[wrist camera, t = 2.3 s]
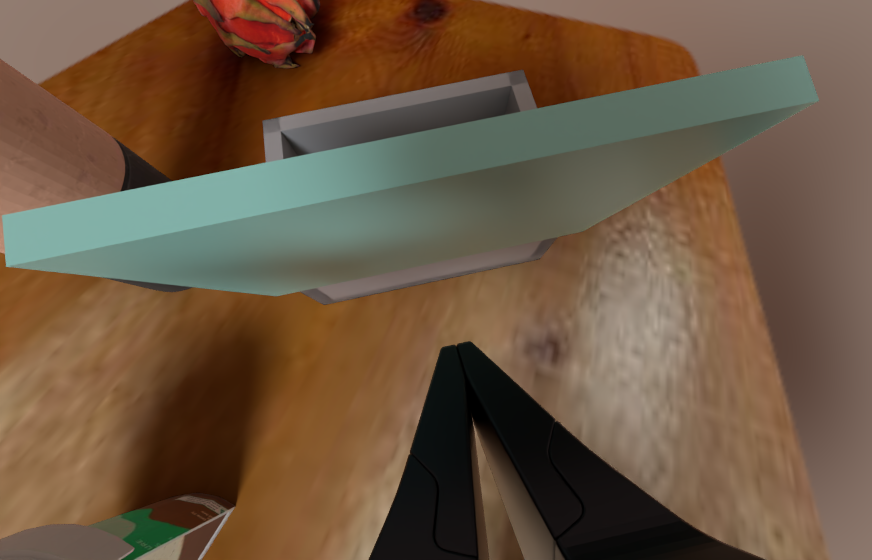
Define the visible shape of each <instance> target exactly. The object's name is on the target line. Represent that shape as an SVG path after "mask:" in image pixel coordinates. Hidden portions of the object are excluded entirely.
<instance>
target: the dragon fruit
mask: <svg viewBox="0 0 872 560" xmlns="http://www.w3.org/2000/svg"><path fill="white" fill-rule="evenodd" d="M193 1H194V3H195V4H196V6H197V7H198V10H199V11H200V13H201V15H202V16H206V17H208V19H209V21H210V23H211V24H212V26H213V27H214V28H215V30H216V31H217V33H218V34H219V36H220V39H221V40H222V41H223V42H224V44H225V45H226V46H227V47H228V48H229V49H230V50H231V51H232V52H234V53H235V54H236V55H238V56H239V57H243V56H244V55H245V54H248V55H250V56H253V57H256V58H259V59H260V60H261V61H263V62H264V63H268V64H273V65H274V67H276V68H295V67H298V66H299V65H297V64H295V63H293V62H292V60H291V57H290V55H289V54H290V53H291V52H293V51H294V52H296V53H303V52H306V53H312V52H313V48H314V44H315V40H316V36H315V34H314V33H313V32H312V31H311V29H312V26H313V25H314V24H312V23H311V21H310V19H312V18H314V15H315V14H316V13H317V12H318V11H319V8H320V1H319V0H193Z"/></svg>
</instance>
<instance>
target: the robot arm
mask: <svg viewBox="0 0 872 560" xmlns="http://www.w3.org/2000/svg"><path fill="white" fill-rule="evenodd" d="M472 418H473V420H472ZM473 422H474V425H475V428H476V431H477V434H478V437H479V439H480V442H481V445H482V447H483V450H484V453H485V455H486V458H487V461H488V463H489V466H490V469H491V471H492V474H493V477H494V479H495V482H496V485H497V487H498V490H499V493H500V495H501V498H502V501H503V503H504V506H505V509H506V511H507V514H508V517H509V520H510V522H511V525H512V528H513V530H514V533H515V536H516V538H517V541H518V544H519V546H520V549H521V552H522V554H523V557H524V560H765V559H763V558H760V557H758V556H755V555H753V554H751V553H748V552H746V551H743V550H741V549H738V548H736V547H733V546H731V545H728V544H726V543H723V542H721V541H719V540H717V539H715V538H713V537H711V536H709V535H707V534H705V533H703V532H702V531H700V530H698V529H696V528H695V527H693V526H692V525H690V524H689V523H687V522H685V521H684V520H682V519H681V518H680V517H678V516H677V515H675V514H674V513H673V512H671V511H670V510H669V509H667V508H666V507H665V506H663V505H662V504H661V503H659V502H658V501H657V500H655V499H654V498H653V497H651V496H650V495H649V494H647V493H646V492H645V491H643V490H642V489H641V488H639V487H638V486H637V485H635V484H634V483H633V482H631V481H630V480H629V479H627V478H626V477H625V476H623V475H622V474H621V473H619V472H618V471H617V470H615V469H614V468H613V467H611V466H610V465H609V464H608V463H606V462H605V461H604V460H602V459H601V458H600V457H599V456H597V455H596V454H595V453H593V452H592V451H591V450H590V449H588V448H587V447H586V446H585V445H584V444H583V443H582V442H580V441H579V440H578V439H577V438H576V437H575V436H573V435H572V434H571V433H570V432H569V431H568V430H567V429H566V428H565V427H564V426H562V425H561V424H560V423H559V422H558V421H556V420H555V418H554V417H553V416H551V415H550V414H549V413H548V412H547V411H546V410H545V409H544V408H543V407H542V406H541V405H539V404H538V403H537V402H536V401H535V400H534V399H533V398H532V397H531V396H530V395H529V394H528V393H526V392H525V391H524V390H523V389H522V388H521V387H520V386H519V385H518V384H517V383H516V382H514V381H513V380H512V379H511V378H510V377H509V376H508V375H507V374H506V373H505V372H504V371H503V370H501V369H500V368H499V367H498V366H497V365H496V364H495V363H494V362H493V361H492V360H491V359H490V358H488V357H487V356H486V355H485V354H484V353H483V352H482V351H481V350H480V349H479V348H478V347H476V346H475V345H474V344H473V343H472V342H470V341H468V342H463V343H459V344H457V347H456V345H450V346H445V347H442V348H441V350H440V353H439V357H438V360H437V363H436V367H435V370H434V373H433V377H432V380H431V383H430V387H429V390H428V393H427V396H426V400H425V403H424V406H423V410H422V413H421V416H420V420H419V423H418V426H417V430H416V433H415V436H414V440H413V443H412V446H411V450H410V454H409V456H408V459H407V462H406V466H405V469H404V472H403V475H402V478H401V481H400V484H399V487H398V490H397V493H396V495H395V498H394V500H393V503H392V505H391V508H390V510H389V513H388V515H387V518H386V520H385V523H384V525H383V527H382V530H381V532H380V534H379V537H378V539H377V541H376V544H375V546H374V548H373V550H372V553H371V555H370V557H369V560H489V553H488V544H487V536H486V527H485V518H484V510H483V501H482V493H481V484H480V475H479V467H478V458H477V450H476V441H475V433H474V426H473Z"/></svg>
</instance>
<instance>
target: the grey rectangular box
mask: <svg viewBox="0 0 872 560" xmlns="http://www.w3.org/2000/svg"><path fill="white" fill-rule="evenodd" d="M532 109H537V107H536V104H535V101H534V98H533V96H532V93H531V90H530V87H529V85H528V82H527V79H526V76H525V74H524V71H523V70H519V71H513V72H508V73H503V74H498V75H493V76H488V77H483V78H478V79H473V80H468V81H462V82H457V83H452V84H447V85H442V86H437V87H432V88H427V89H422V90H417V91H412V92H406V93H401V94H396V95H391V96H386V97H381V98H376V99H371V100H366V101H361V102H356V103H350V104H345V105H340V106H335V107H330V108H325V109H320V110H315V111H310V112H305V113H299V114H294V115H289V116H284V117H279V118H274V119H269V120H264V121H263V131H264V144H265V156H266V163H267V162H272V161H277V160H282V159H287V158H292V157H297V156H302V155H307V154H312V153H317V152H322V151H327V150H332V149H337V148H342V147H347V146H352V145H357V144H362V143H367V142H372V141H377V140H382V139H387V138H392V137H397V136H402V135H407V134H412V133H417V132H422V131H427V130H432V129H437V128H442V127H447V126H452V125H457V124H462V123H467V122H472V121H477V120H482V119H487V118H492V117H497V116H502V115H507V114H512V113H517V112H522V111H527V110H532ZM556 239H557V237H555V238H550V239H545V240H541V241H536V242H531V243H527V244H522V245H517V246H512V247H508V248H503V249H498V250H493V251H489V252H484V253H479V254H474V255H470V256H465V257H460V258H455V259H451V260H446V261H441V262H436V263H432V264H427V265H422V266H417V267H413V268H408V269H403V270H399V271H394V272H389V273H384V274H380V275H375V276H370V277H365V278H361V279H356V280H351V281H346V282H342V283H337V284H332V285H327V286H323V287H318V288H313V289H308V290H304V291H300V292H301V293H303V294H305V295H307V296H309V297H311V298H312V299H314V300H316V301H318V302H320V303H322V304H323V305H326V304H331V303H335V302H340V301H345V300H349V299H354V298H359V297H364V296H368V295H373V294H378V293H382V292H387V291H392V290H396V289H401V288H406V287H411V286H415V285H420V284H425V283H429V282H434V281H439V280H444V279H448V278H453V277H458V276H462V275H467V274H472V273H476V272H481V271H486V270H491V269H495V268H500V267H505V266H509V265H514V264H519V263H524V262H528V261H533V260H538V259H540V258H541V257H542V256H543V254H544V253H545V252H546V251H547V250H548V248H549V247H550V246H551V245H552V244H553V242H554V241H555V240H556Z"/></svg>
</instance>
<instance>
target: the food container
mask: <svg viewBox="0 0 872 560" xmlns="http://www.w3.org/2000/svg"><path fill="white" fill-rule="evenodd" d="M234 508H235V506H234V505H233V504H231V503H229V502H228V501H226V500H224V499H223V498H221V497H217V496H212V495H207V494H202V493H192V494H186V495H180V496H174V497H171V498H168V499H165V500H162V501H159V502H156V503H153V504H150V505H147V506H145V507H142V508H139V509H136V510H133V511H130V512H127V513H124V514H121V515H118V516H115V517H113V518H110V519H107V520H104V521H101V522H98V523H95V524H92V525H89V526H82V525H76V524H57V525H46V526H41V527H36V528H32V529H27V530H24V531H21V532H18V533H16V534H13V535H10V536H8V537H5V538H2V539H0V560H202V558H203V557H204V555H205V554H206V552H207V550H208V549H209V547H210V546H211V544H212V543H213V541H214V539H215V538H216V536H217V535H218V533H219V532H220V530H221V528H222V527H223V525H224V524H225V522H226V520H227V519H228V517H229V516H230V514H231V513H232V511H233V509H234Z"/></svg>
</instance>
